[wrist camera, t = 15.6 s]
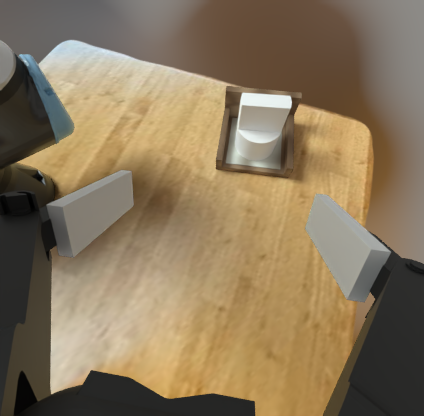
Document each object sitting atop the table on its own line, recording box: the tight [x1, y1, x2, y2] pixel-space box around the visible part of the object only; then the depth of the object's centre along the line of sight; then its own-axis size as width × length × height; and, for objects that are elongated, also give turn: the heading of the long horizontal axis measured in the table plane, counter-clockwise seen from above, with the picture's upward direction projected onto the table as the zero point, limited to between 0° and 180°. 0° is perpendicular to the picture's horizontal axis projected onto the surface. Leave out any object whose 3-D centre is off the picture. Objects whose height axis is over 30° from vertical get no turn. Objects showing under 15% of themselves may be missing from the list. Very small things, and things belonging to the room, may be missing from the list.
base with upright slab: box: [235, 93, 292, 161], centre depth 43 cm, size 9×9×12 cm
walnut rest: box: [216, 86, 302, 178], centre depth 46 cm, size 16×16×8 cm
